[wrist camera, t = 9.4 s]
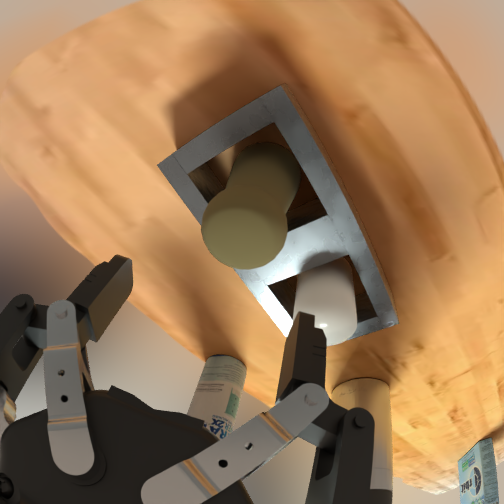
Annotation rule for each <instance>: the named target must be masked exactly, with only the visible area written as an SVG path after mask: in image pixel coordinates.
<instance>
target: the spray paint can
mask: <svg viewBox="0 0 504 504" xmlns="http://www.w3.org/2000/svg"><path fill="white" fill-rule="evenodd" d="M245 378H246V367H245V365H244V364H243V363H242V362H241V361H239V360H238V359H236V358H234V357H231V356H227V355H213V356H211V357H209V358H208V360H207V361H206V363H205V366H204V369H203V372H202V374H201V377H200V380H199V383H198V385H197V388H196V391H195V394H194V396H193V399H192V402H191V404H190V407H189V410H188V413H187V415H189V416H192V417H195V418H198V419H201V420H204V421H205V422H204V427H206V428H207V429H209V430H210V431H211V432H213V433H214V434H215V435H216V436H217V437H218V438H219V439H220V440H221V439H223V438H224V437H226V436H227V435H229V434H230V433H232V430H233V427H234V423H235V418H236V415H237V411H238V407H239V402H240V398H241V394H242V390H243V386H244V382H245Z"/></svg>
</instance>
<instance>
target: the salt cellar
mask: <svg viewBox="0 0 504 504" xmlns="http://www.w3.org/2000/svg"><path fill="white" fill-rule="evenodd" d="M299 311H301V312H305V313H308V314H312V315H315V327H316V328H320V329H323V331H324V334H325V336H326V338H327V346H331V345H336V344H339V343H342V342H344V341H346V340H347V339H349V338H350V337H351V336H352V335H353V334H354V332H355V331H356V328H357V314H356V303H355V293H354V283H353V274H352V268H351V266H350V264H349V263H348V261H347V260H346V259H344V258H343V257H341V258H338V259H336V260H333V261H331V262H328V263H325V264H323V265H320V266H318V267H315V268H312V269H310V270H307V271H305V272H302V273H299V274H298V280H297V288H296V297H295V305H294V313H293V321H292V324H293V322H294V320H295V317H296V315H297V313H298V312H299Z"/></svg>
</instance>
